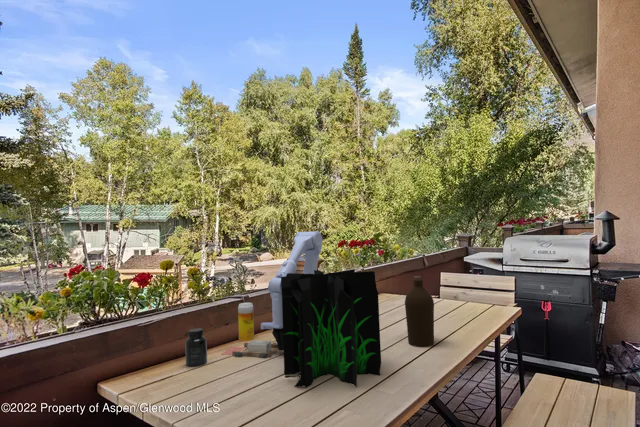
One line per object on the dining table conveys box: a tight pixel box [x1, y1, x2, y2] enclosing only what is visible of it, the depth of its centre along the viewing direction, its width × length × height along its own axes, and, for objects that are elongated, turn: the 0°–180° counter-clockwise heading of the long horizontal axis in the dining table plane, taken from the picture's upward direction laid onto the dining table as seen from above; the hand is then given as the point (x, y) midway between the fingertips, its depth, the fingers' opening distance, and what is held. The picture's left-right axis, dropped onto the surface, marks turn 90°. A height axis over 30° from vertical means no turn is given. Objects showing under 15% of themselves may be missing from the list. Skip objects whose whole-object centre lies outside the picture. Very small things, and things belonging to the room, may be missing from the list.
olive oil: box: [404, 275, 435, 348], centre depth 141 cm, size 11×11×25 cm
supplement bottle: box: [184, 327, 208, 368], centre depth 125 cm, size 7×7×12 cm
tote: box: [246, 340, 272, 353], centre depth 134 cm, size 7×5×3 cm
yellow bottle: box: [237, 302, 255, 342], centre depth 152 cm, size 6×6×15 cm
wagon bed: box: [231, 342, 279, 359], centre depth 134 cm, size 14×12×3 cm
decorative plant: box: [281, 268, 382, 389], centre depth 117 cm, size 29×30×30 cm
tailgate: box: [220, 346, 246, 356], centre depth 136 cm, size 1×8×6 cm
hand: (281, 349), depth 132 cm, fingers closed
